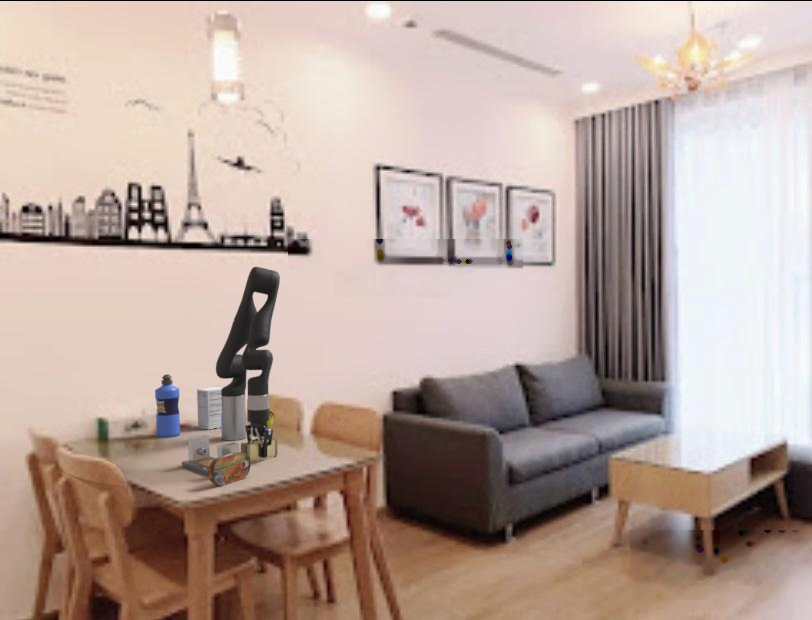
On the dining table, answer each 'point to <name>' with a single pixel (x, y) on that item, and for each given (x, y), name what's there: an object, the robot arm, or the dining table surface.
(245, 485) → the dining table surface
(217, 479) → the tin
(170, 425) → the water bottle
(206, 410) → the supplement box
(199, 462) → the stand
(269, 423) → the lemon
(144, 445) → the dining table surface
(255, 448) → the block
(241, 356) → the robot arm
